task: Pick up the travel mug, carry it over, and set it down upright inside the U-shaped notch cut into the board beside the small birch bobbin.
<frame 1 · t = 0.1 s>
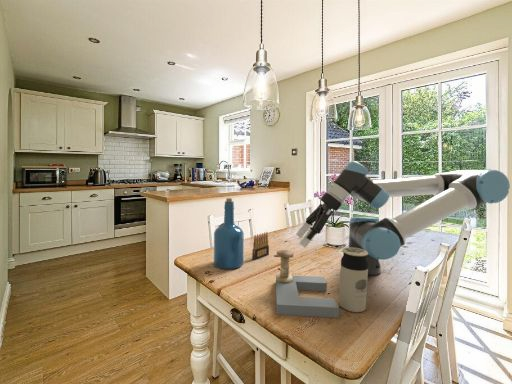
hand: (300, 240, 101), 15 cm above the table, tool tilted 35°, fingers open, 13 cm apart
wine bottle: (228, 265, 115), on the table
ammunition clip: (260, 257, 126), on the table
travel mug: (352, 306, 82), on the table
notched board: (302, 297, 87), on the table
birch bobbin: (284, 279, 94), resting on notched board
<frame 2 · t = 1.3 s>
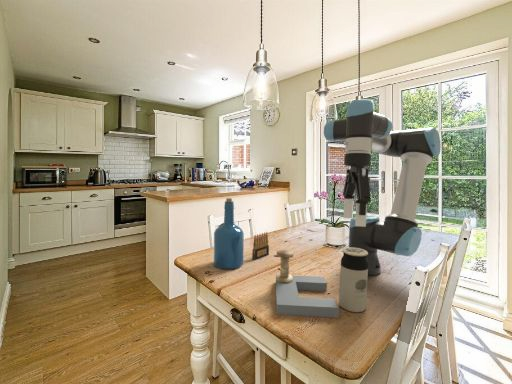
hand: (353, 221, 80), 27 cm above the table, tool pointing down, fingers open, 13 cm apart
nothing on the table moved.
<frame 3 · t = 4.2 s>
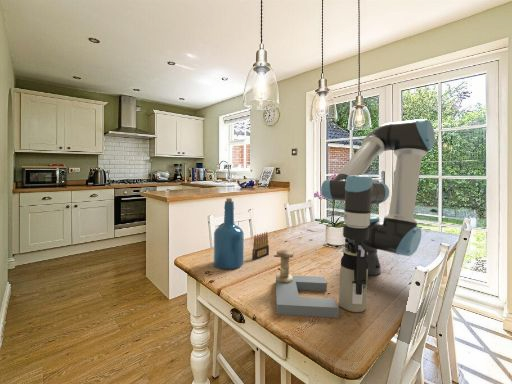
hand: (352, 296, 81), 3 cm above the table, tool pointing down, fingers closed on travel mug, 8 cm apart
travel mug: (351, 306, 82), on the table, touching gripper
everything else where it was.
when the fingers open (5 cm above the table, at t = 10.1 s): travel mug drops 2 cm, on the table.
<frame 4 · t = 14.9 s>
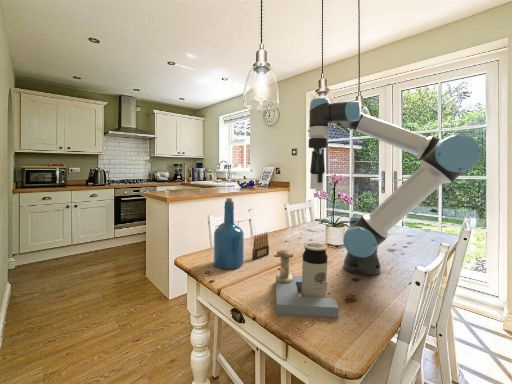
hand: (316, 190, 107), 35 cm above the table, tool pointing down, fingers open, 13 cm apart
travel mug: (313, 298, 86), on the table
everything else where it was.
at the end: travel mug 0.1 cm from the target spot on the notched board, point 0.0 cm above the notched board's base; travel mug tilted 0°; the gripper is holding nothing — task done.
